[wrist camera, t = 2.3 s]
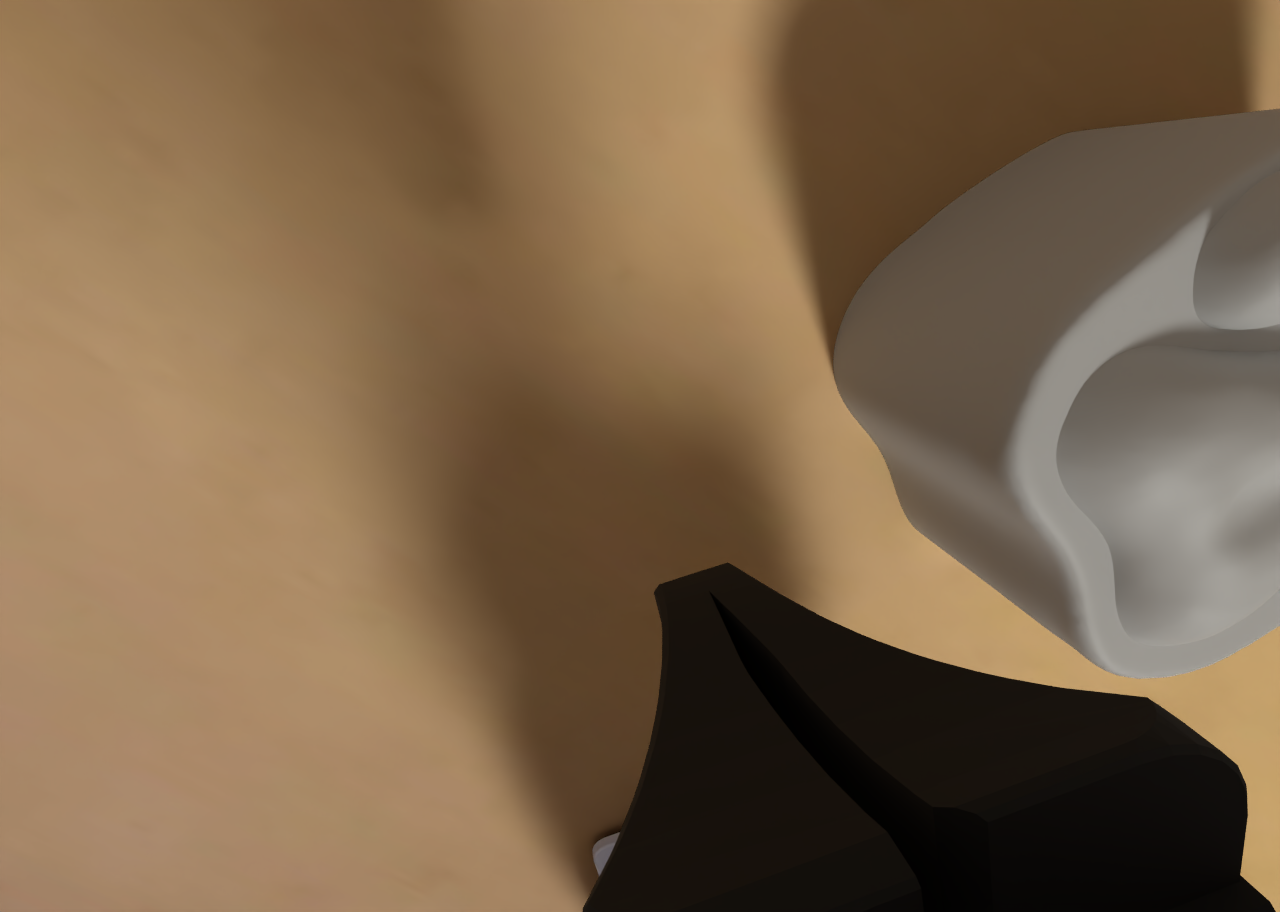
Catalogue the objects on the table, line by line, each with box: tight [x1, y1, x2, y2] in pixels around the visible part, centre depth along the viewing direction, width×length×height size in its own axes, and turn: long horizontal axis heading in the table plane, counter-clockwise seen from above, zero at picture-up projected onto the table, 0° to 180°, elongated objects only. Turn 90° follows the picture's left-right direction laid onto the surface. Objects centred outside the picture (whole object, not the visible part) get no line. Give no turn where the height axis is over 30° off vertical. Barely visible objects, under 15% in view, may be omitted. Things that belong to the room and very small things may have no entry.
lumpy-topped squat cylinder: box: [833, 109, 1280, 679], centre depth 17 cm, size 10×13×9 cm
